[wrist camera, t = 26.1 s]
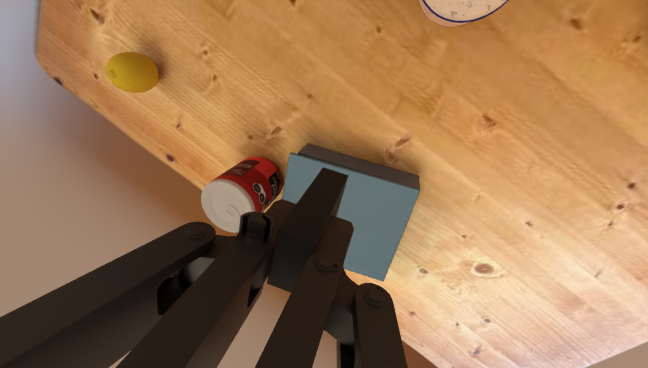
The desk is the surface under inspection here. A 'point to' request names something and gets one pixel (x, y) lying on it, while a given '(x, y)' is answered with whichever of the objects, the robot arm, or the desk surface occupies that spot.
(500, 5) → the teacup with lid
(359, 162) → the box
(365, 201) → the lunchbox lid
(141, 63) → the lemon
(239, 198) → the canned food
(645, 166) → the desk surface
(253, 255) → the robot arm
